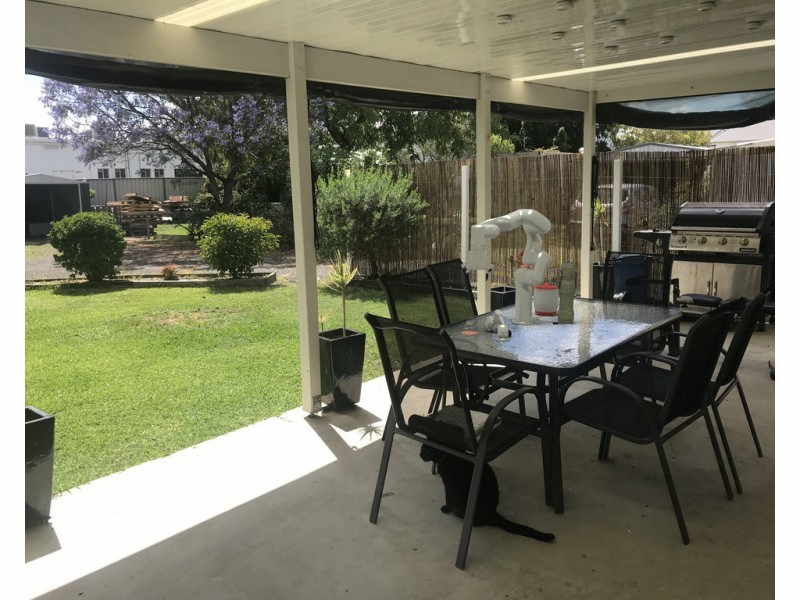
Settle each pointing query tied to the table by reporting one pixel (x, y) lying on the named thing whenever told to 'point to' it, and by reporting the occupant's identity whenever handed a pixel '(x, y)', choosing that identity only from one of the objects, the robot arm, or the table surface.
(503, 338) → the pipe coupling
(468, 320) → the table surface
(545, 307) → the citrus juicer
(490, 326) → the mechanical valve
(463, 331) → the gasket pad
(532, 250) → the robot arm
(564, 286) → the stone statue
